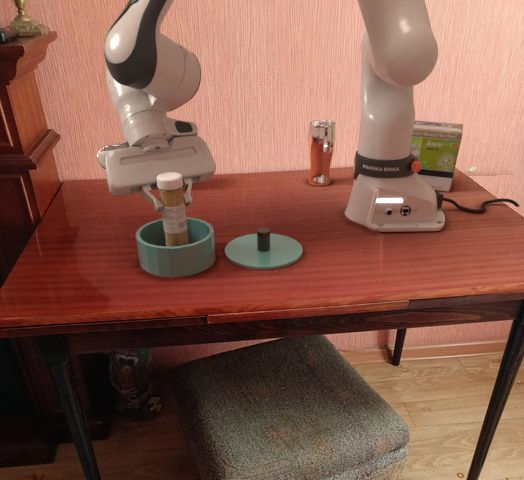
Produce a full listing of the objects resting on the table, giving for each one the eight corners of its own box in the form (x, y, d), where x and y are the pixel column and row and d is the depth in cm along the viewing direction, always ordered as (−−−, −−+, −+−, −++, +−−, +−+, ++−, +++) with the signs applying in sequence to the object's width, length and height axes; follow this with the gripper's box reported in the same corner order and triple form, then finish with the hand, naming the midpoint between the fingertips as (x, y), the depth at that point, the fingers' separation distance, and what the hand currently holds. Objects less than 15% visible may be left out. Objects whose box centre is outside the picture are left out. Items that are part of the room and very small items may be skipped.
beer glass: (334, 179, 142) (339, 120, 134) (328, 187, 137) (333, 127, 128) (310, 176, 144) (312, 118, 135) (303, 184, 139) (305, 125, 130)
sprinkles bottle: (181, 238, 103) (173, 169, 95) (193, 245, 100) (186, 175, 92) (161, 244, 101) (151, 175, 93) (173, 252, 98) (164, 181, 90)
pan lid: (306, 241, 110) (307, 217, 107) (297, 275, 98) (298, 249, 95) (234, 236, 112) (233, 212, 109) (216, 269, 100) (214, 244, 97)
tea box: (390, 187, 137) (399, 127, 128) (395, 175, 145) (403, 118, 136) (450, 192, 133) (463, 131, 125) (451, 180, 141) (463, 122, 132)
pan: (223, 248, 107) (221, 219, 104) (204, 282, 96) (201, 250, 92) (155, 243, 110) (151, 214, 106) (129, 276, 98) (123, 245, 94)
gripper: (94, 137, 90) (119, 210, 89) (204, 122, 98) (228, 189, 96) (93, 157, 96) (117, 225, 95) (197, 141, 104) (220, 205, 102)
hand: (174, 207), depth 96 cm, fingers closed on sprinkles bottle, 4 cm apart
